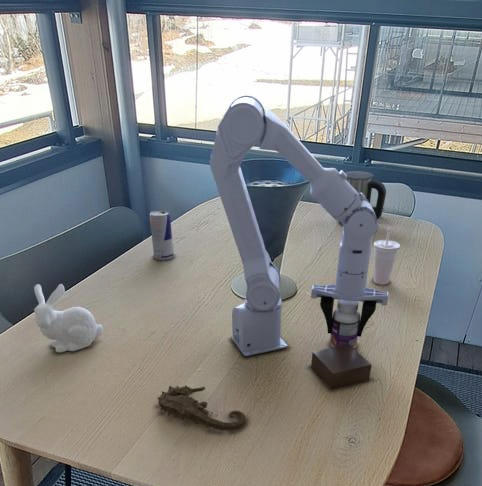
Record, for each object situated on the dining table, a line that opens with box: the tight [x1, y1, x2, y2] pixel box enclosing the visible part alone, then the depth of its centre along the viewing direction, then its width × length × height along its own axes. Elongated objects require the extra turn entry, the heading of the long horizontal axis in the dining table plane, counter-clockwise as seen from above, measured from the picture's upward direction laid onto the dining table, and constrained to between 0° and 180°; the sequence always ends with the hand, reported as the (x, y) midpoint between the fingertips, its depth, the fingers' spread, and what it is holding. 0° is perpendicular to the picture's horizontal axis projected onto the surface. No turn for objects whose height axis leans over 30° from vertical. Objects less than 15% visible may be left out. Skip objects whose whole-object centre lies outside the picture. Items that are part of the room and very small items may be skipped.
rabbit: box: [33, 283, 104, 354], centre depth 105 cm, size 12×9×12 cm
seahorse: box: [156, 384, 247, 431], centre depth 89 cm, size 9×16×3 cm, turn 48°
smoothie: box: [372, 226, 401, 286], centre depth 129 cm, size 6×6×14 cm
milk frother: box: [338, 170, 387, 226], centre depth 168 cm, size 14×16×15 cm
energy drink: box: [149, 209, 174, 261], centre depth 142 cm, size 5×5×12 cm
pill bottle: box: [329, 299, 361, 349], centre depth 105 cm, size 5×5×10 cm
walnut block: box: [310, 344, 372, 390], centre depth 98 cm, size 8×8×4 cm
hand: (344, 332), depth 106 cm, fingers closed on pill bottle, 5 cm apart
